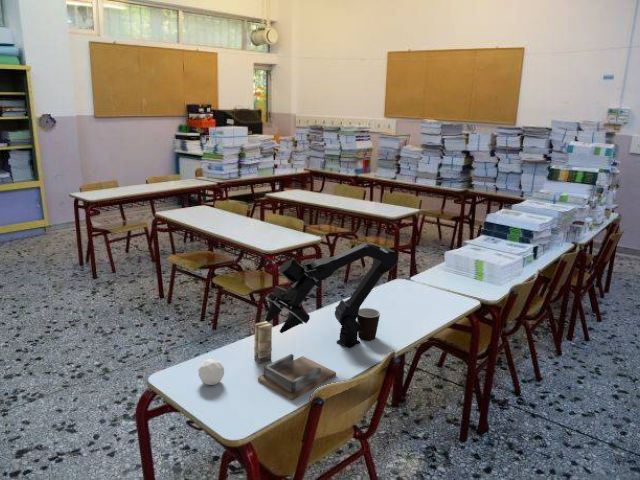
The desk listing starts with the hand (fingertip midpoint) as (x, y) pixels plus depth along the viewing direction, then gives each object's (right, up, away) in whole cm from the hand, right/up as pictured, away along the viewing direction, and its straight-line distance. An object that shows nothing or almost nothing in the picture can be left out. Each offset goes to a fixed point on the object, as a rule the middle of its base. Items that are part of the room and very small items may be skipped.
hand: (272, 327), depth 172 cm
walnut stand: (+9, -14, -10) cm, 20 cm away
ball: (-18, -15, -15) cm, 27 cm away
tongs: (-3, -11, 0) cm, 12 cm away
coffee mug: (+34, -7, +22) cm, 41 cm away
